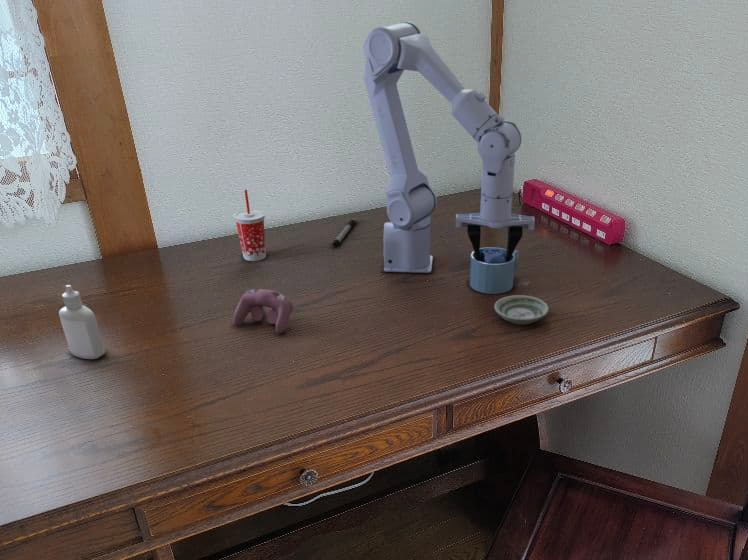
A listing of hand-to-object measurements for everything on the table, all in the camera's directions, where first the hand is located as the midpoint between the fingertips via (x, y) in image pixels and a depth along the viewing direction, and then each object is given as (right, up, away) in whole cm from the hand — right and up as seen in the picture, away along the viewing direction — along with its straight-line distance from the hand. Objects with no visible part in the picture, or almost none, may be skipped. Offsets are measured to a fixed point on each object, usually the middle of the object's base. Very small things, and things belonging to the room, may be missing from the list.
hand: (492, 263), depth 141 cm
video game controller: (-41, -13, -12) cm, 45 cm away
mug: (+1, -3, +3) cm, 5 cm away
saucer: (+4, -12, -9) cm, 15 cm away
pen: (-31, +11, +23) cm, 40 cm away
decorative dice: (0, -1, +1) cm, 2 cm away
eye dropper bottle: (-67, -19, -22) cm, 73 cm away
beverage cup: (-49, +4, +12) cm, 50 cm away
